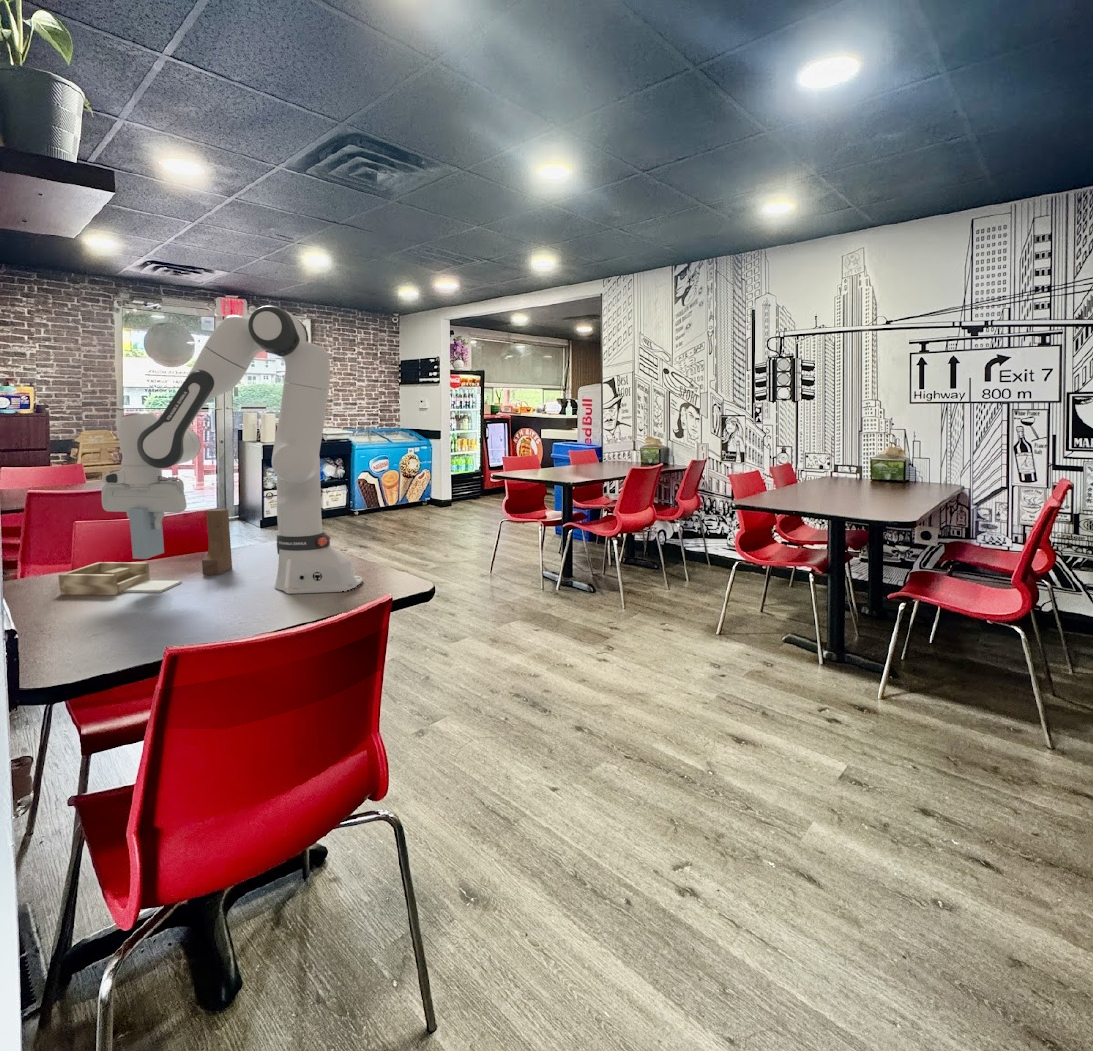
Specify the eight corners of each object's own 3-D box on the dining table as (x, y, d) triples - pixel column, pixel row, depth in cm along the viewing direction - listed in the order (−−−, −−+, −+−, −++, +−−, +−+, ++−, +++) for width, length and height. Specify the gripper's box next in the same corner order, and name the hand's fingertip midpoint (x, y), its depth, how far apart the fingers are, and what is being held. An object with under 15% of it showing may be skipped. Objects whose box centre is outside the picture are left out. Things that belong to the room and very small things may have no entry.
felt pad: (181, 582, 182) (181, 580, 182) (160, 592, 172) (160, 590, 172) (145, 582, 182) (144, 580, 182) (121, 592, 172) (121, 589, 172)
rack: (151, 580, 185) (149, 562, 184) (116, 594, 170) (114, 575, 169) (99, 579, 185) (98, 562, 184) (60, 594, 170) (58, 575, 169)
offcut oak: (130, 577, 179) (129, 568, 179) (114, 582, 174) (113, 572, 173) (120, 576, 180) (119, 567, 179) (104, 581, 174) (103, 572, 174)
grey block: (164, 552, 180) (160, 504, 178) (146, 558, 172) (142, 508, 170) (151, 552, 180) (147, 504, 178) (132, 558, 172) (128, 508, 170)
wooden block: (218, 575, 190) (213, 513, 187) (202, 575, 190) (197, 513, 187) (232, 568, 199) (228, 508, 196) (217, 568, 199) (213, 508, 196)
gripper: (189, 475, 175) (192, 527, 178) (111, 474, 175) (116, 526, 178) (175, 477, 169) (179, 531, 171) (95, 476, 169) (100, 530, 171)
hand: (146, 528), depth 175 cm, fingers closed on grey block, 3 cm apart
